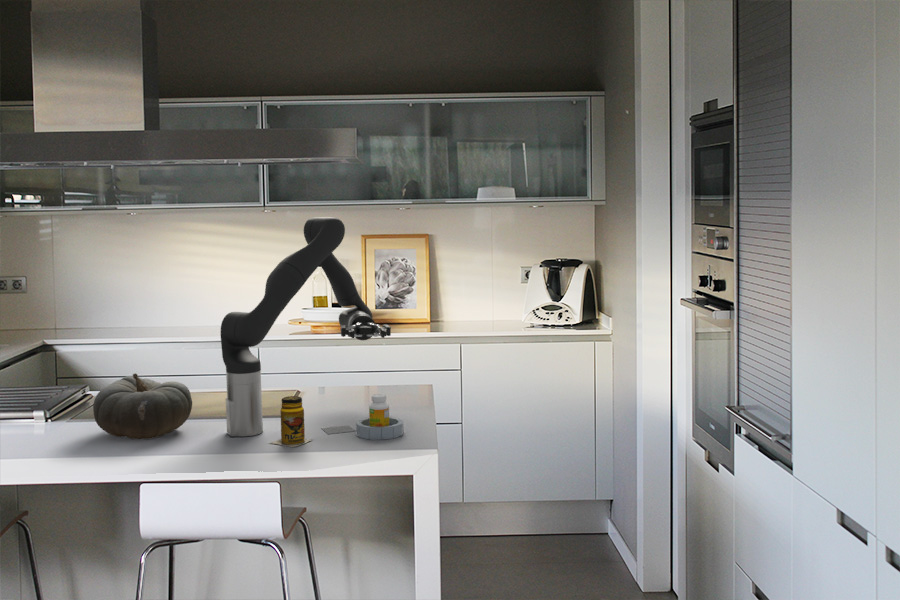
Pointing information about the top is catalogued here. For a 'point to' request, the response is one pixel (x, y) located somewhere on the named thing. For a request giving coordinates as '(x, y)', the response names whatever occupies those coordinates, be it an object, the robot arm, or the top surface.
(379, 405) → the supplement bottle
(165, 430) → the gourd
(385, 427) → the bowl
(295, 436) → the condiment
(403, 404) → the top surface
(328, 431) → the mat
